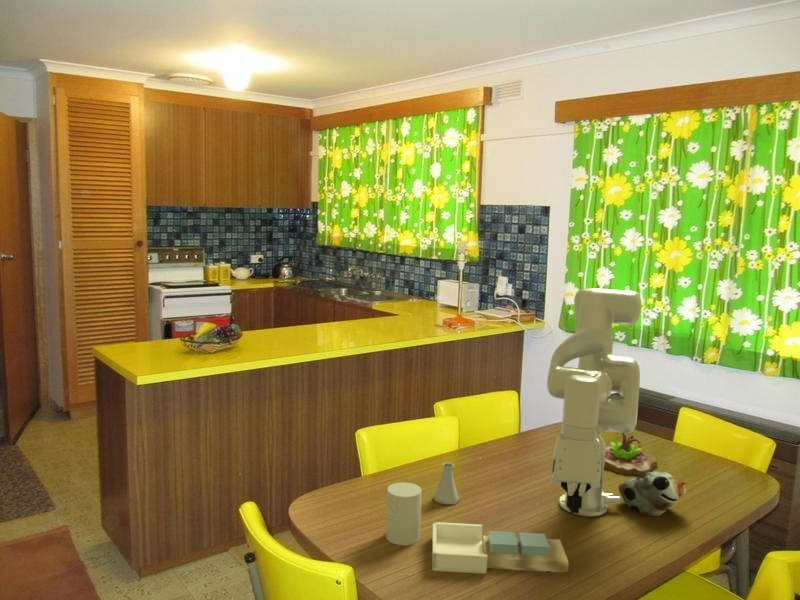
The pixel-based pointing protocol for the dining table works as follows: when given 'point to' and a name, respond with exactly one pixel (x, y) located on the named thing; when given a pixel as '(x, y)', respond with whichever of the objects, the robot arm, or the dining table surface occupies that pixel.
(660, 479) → the grey toy figure
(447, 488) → the flask
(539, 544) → the tile
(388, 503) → the grey cylinder
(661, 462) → the dining table surface
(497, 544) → the tile
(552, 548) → the board
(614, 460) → the plant
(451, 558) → the tray
